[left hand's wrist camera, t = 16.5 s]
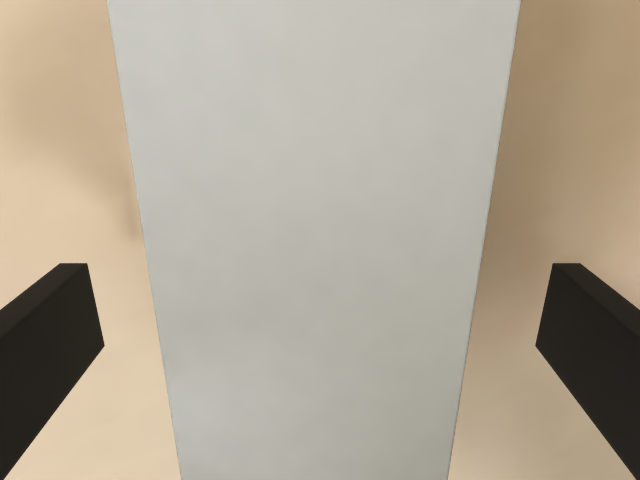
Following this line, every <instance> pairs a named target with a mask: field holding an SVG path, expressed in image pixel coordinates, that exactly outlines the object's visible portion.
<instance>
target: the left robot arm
mask: <svg viewBox="0 0 640 480" xmlns="http://www.w3.org/2000/svg"><path fill="white" fill-rule="evenodd" d="M104 346H105V345H104V341H103V336H102V331H101V326H100V322H99V317H98V312H97V308H96V303H95V298H94V293H93V289H92V284H91V279H90V274H89V270H88V265H87V263H60V264H59V265H57V266H56V267H55V268H53V269H52V270H51V271H50V272H48V273H47V274H46V275H44V276H43V277H42V278H41V279H39V280H38V281H37V282H35V283H34V284H33V285H32V286H30V287H29V288H28V289H27V290H25V291H24V292H23V293H21V294H20V295H19V296H18V297H16V298H15V299H14V300H12V301H11V302H10V303H9V304H7V305H6V306H5V307H3V308H2V309H1V310H0V480H4V478H5V477H6V476H7V474H8V473H9V472H10V471H11V469H12V468H13V467H14V465H15V464H16V463H17V461H18V460H19V459H20V457H21V456H22V455H23V453H24V452H25V451H26V449H27V448H28V447H29V445H30V444H31V443H32V441H33V440H34V439H35V437H36V436H37V435H38V433H39V432H40V431H41V429H42V428H43V427H44V425H45V424H46V423H47V421H48V420H49V419H50V417H51V416H52V415H53V414H54V412H55V411H56V410H57V408H58V407H59V406H60V404H61V403H62V402H63V400H64V399H65V398H66V396H67V395H68V394H69V392H70V391H71V390H72V388H73V387H74V386H75V384H76V383H77V382H78V380H79V379H80V378H81V376H82V375H83V374H84V372H85V371H86V370H87V368H88V367H89V366H90V364H91V363H92V362H93V360H94V359H95V358H96V356H97V355H98V354H99V353H100V351H101V350H102V349H103V347H104ZM535 346H536V347H537V349H538V350H539V351H540V353H541V354H542V355H543V357H544V358H545V359H546V360H547V362H548V363H549V364H550V366H551V367H552V368H553V370H554V371H555V372H556V374H557V375H558V376H559V378H560V379H561V380H562V382H563V383H564V384H565V386H566V387H567V388H568V390H569V391H570V392H571V394H572V395H573V396H574V398H575V399H576V400H577V402H578V403H579V404H580V406H581V407H582V408H583V410H584V411H585V412H586V414H587V415H588V416H589V417H590V419H591V420H592V421H593V423H594V424H595V425H596V427H597V428H598V429H599V431H600V432H601V433H602V435H603V436H604V437H605V439H606V440H607V441H608V443H609V444H610V445H611V447H612V448H613V449H614V451H615V452H616V453H617V455H618V456H619V457H620V459H621V460H622V461H623V463H624V464H625V465H626V467H627V468H628V469H629V471H630V472H631V473H632V474H633V476H634V477H635V478H636V480H640V310H639V309H638V308H637V307H635V306H634V305H633V304H631V303H630V302H629V301H628V300H626V299H625V298H624V297H622V296H621V295H620V294H619V293H617V292H616V291H615V290H613V289H612V288H611V287H610V286H608V285H607V284H606V283H605V282H603V281H602V280H601V279H599V278H598V277H597V276H596V275H594V274H593V273H592V272H590V271H589V270H588V269H587V268H585V267H584V266H583V265H581V264H580V263H553V265H552V270H551V274H550V279H549V284H548V289H547V293H546V298H545V303H544V307H543V312H542V317H541V322H540V326H539V331H538V336H537V341H536V345H535Z"/></svg>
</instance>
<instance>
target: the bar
mask: <svg viewBox="0 0 640 480" xmlns="http://www.w3.org/2000/svg"><path fill="white" fill-rule="evenodd" d="M520 5H521V0H107V7H108V13H109V20H110V26H111V32H112V39H113V45H114V52H115V58H116V64H117V71H118V77H119V84H120V90H121V97H122V103H123V109H124V116H125V122H126V129H127V135H128V141H129V148H130V154H131V161H132V167H133V173H134V180H135V186H136V193H137V199H138V205H139V212H140V218H141V225H142V231H143V237H144V244H145V250H146V257H147V263H148V269H149V276H150V282H151V289H152V295H153V301H154V308H155V314H156V321H157V327H158V333H159V340H160V346H161V353H162V359H163V365H164V372H165V378H166V385H167V391H168V397H169V404H170V410H171V417H172V423H173V430H174V436H175V442H176V449H177V455H178V462H179V468H180V474H181V480H448V474H449V467H450V461H451V454H452V448H453V441H454V435H455V428H456V422H457V415H458V409H459V402H460V396H461V389H462V383H463V376H464V370H465V363H466V357H467V350H468V344H469V337H470V331H471V324H472V318H473V311H474V305H475V298H476V292H477V285H478V279H479V272H480V266H481V259H482V253H483V246H484V240H485V233H486V226H487V220H488V213H489V207H490V200H491V194H492V187H493V181H494V174H495V168H496V161H497V155H498V148H499V142H500V135H501V129H502V122H503V116H504V109H505V103H506V96H507V90H508V83H509V77H510V70H511V64H512V57H513V51H514V44H515V38H516V31H517V25H518V18H519V12H520Z"/></svg>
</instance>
